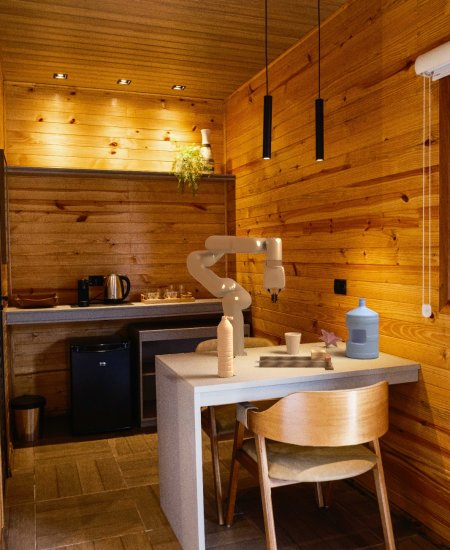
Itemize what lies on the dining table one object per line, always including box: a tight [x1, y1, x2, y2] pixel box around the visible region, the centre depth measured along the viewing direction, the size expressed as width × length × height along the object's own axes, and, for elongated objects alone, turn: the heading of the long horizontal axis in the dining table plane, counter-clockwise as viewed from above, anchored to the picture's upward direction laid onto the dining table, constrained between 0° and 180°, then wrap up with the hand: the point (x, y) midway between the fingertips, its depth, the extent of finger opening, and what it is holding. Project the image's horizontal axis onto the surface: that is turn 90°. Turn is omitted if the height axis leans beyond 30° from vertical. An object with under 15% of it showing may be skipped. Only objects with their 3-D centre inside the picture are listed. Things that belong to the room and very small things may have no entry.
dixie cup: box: [284, 332, 302, 356], centre depth 281 cm, size 8×8×10 cm
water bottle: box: [216, 315, 234, 378], centre depth 232 cm, size 9×6×25 cm
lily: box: [318, 329, 343, 349], centre depth 295 cm, size 12×12×10 cm
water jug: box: [345, 297, 380, 360], centre depth 271 cm, size 16×16×28 cm
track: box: [258, 352, 334, 371], centre depth 250 cm, size 32×14×5 cm, turn 85°
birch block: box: [310, 349, 327, 361], centre depth 249 cm, size 6×6×6 cm
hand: (274, 302), depth 266 cm, fingers closed
